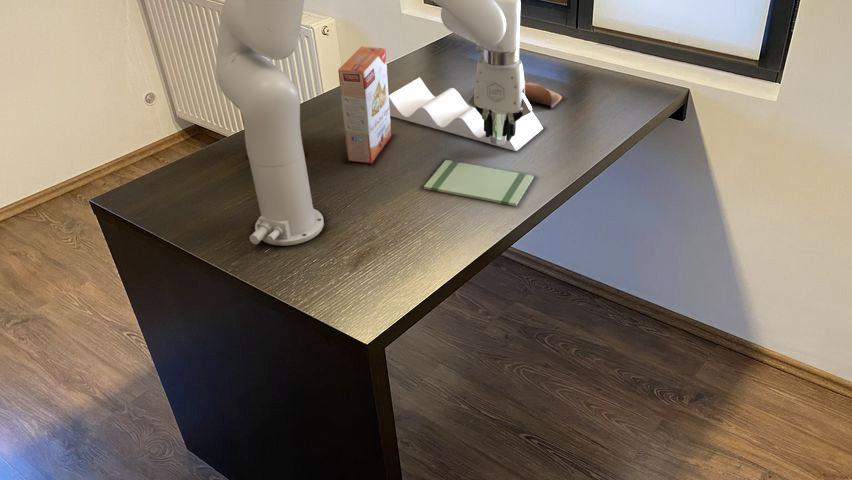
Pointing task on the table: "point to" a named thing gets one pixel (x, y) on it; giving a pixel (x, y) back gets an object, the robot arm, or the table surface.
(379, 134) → the cracker box
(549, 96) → the sunglasses case
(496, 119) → the milkshake
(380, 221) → the table surface
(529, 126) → the white wavy rack
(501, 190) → the towel
